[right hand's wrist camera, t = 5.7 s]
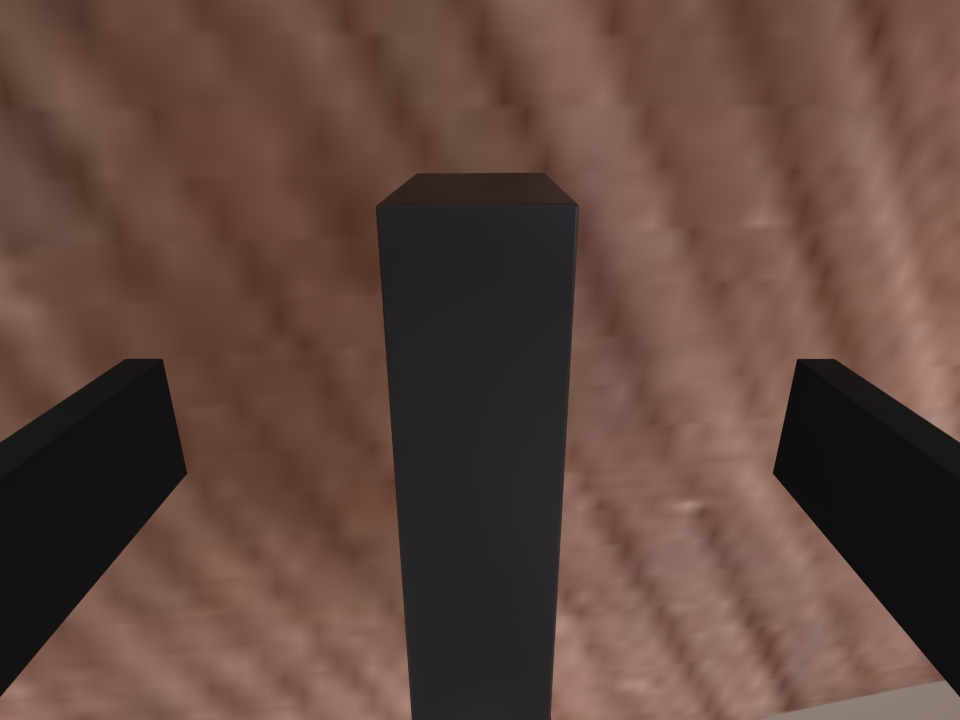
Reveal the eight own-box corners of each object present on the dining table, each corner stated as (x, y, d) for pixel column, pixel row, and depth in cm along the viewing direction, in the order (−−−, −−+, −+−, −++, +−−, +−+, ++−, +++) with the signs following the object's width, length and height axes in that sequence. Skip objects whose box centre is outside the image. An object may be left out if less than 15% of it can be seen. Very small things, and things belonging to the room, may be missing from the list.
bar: (415, 173, 21) (375, 204, 13) (545, 172, 21) (579, 203, 13) (440, 733, 31) (426, 926, 24) (526, 734, 31) (539, 927, 24)
